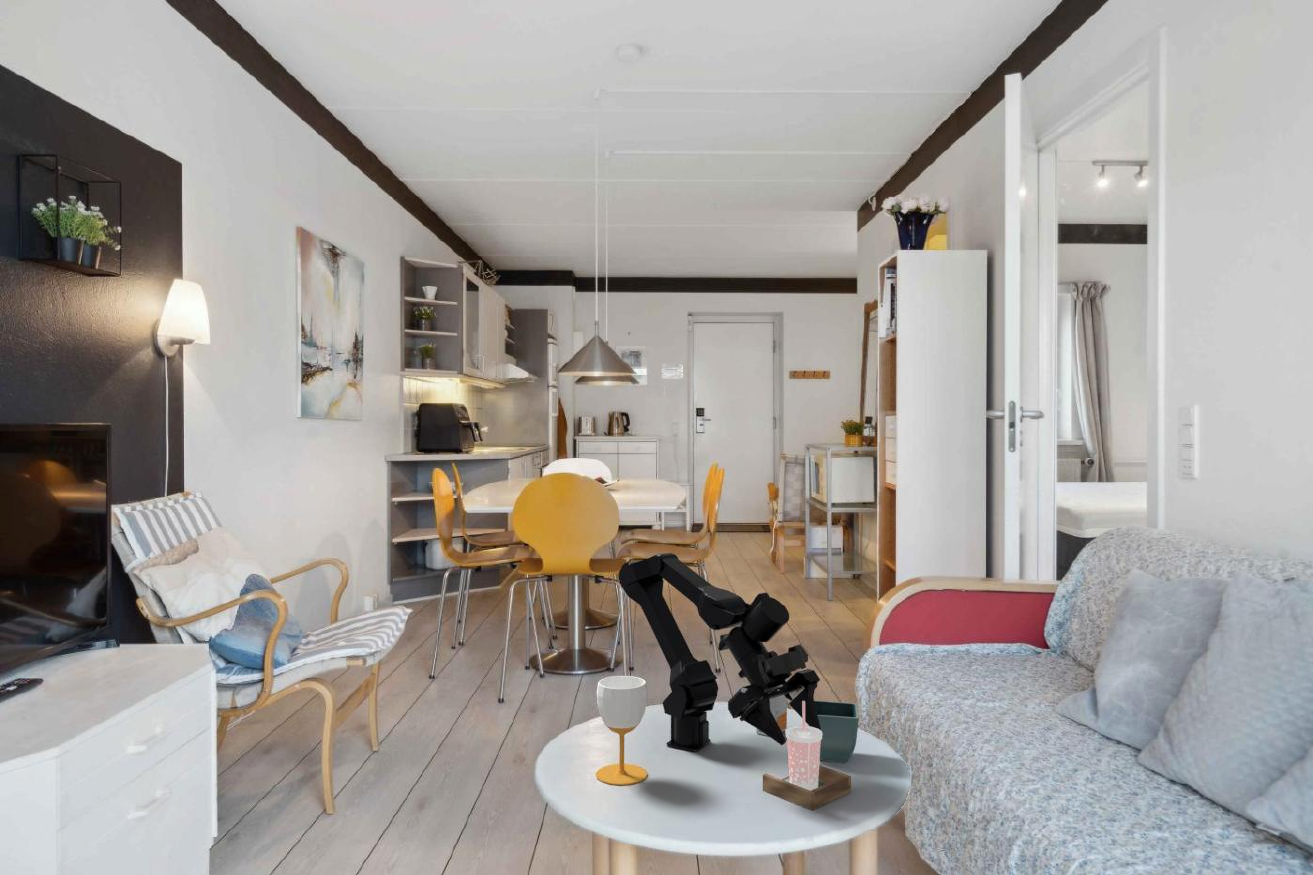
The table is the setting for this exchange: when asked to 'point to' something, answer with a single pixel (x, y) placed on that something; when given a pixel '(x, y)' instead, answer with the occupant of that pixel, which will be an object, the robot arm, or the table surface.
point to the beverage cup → (804, 754)
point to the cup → (622, 722)
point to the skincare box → (778, 712)
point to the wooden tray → (827, 791)
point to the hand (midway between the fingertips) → (801, 737)
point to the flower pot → (837, 729)
